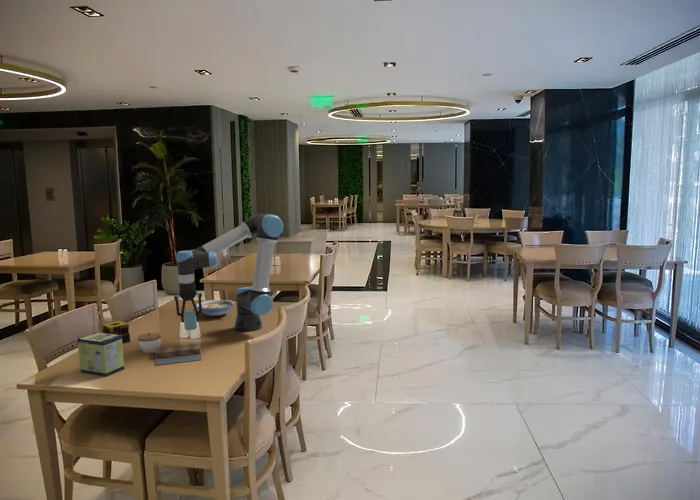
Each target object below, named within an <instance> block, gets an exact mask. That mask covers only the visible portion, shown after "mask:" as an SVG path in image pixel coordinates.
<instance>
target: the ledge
mask: <svg viewBox="0 0 700 500" xmlns="http://www.w3.org/2000/svg"><path fill="white" fill-rule="evenodd" d="M197 354H201V345H200V343H191V344H183V345H182V344H181V345H174V346H173V345H171V346H165V347H159V348H156V352H155V360H156V359H163V358H172V357H180V356H189V355H197Z"/></svg>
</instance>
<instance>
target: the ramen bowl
mask: <svg viewBox="0 0 700 500" xmlns="http://www.w3.org/2000/svg"><path fill="white" fill-rule="evenodd" d="M234 304H235V301H233V300H232V299H231V300H229V299H224V298H223V297H221V298H220V299H210V300H209V299H208V300H204V301H201V305H202V313H201V314H203V315H206V316H209V317H212V316H217V317H220V315H221V316H222V315H225V314H227V313H228V312H230V311H231V310H232V308H233V306H234ZM195 305H196V308H197V310H199V302H198V303H196V304H195Z"/></svg>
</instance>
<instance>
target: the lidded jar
mask: <svg viewBox="0 0 700 500" xmlns="http://www.w3.org/2000/svg"><path fill="white" fill-rule="evenodd" d="M161 342H162V334H161V333H158V332H147V333H143V334H140V335H138V336H137V343H138V347H139V349H140V350H141V352H143V353H144V354H154V353H156V348H161Z"/></svg>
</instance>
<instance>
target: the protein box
mask: <svg viewBox="0 0 700 500" xmlns="http://www.w3.org/2000/svg"><path fill="white" fill-rule="evenodd" d="M123 348H124V347H123V344H122V335H115V334H106V333H103V332H98V331H96V332H93V333H91V334H87V335H84V336H80V337H79V338H77V349H78V359H79V370H80V371H79V373H81V374H88V375H94V376H100V377H105V378H106V377H109V376H111V375H113V374H115V373H116V374H117V372H118V373H119V371H123V370H125V362H124V361H125V360H124V349H123Z"/></svg>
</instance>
